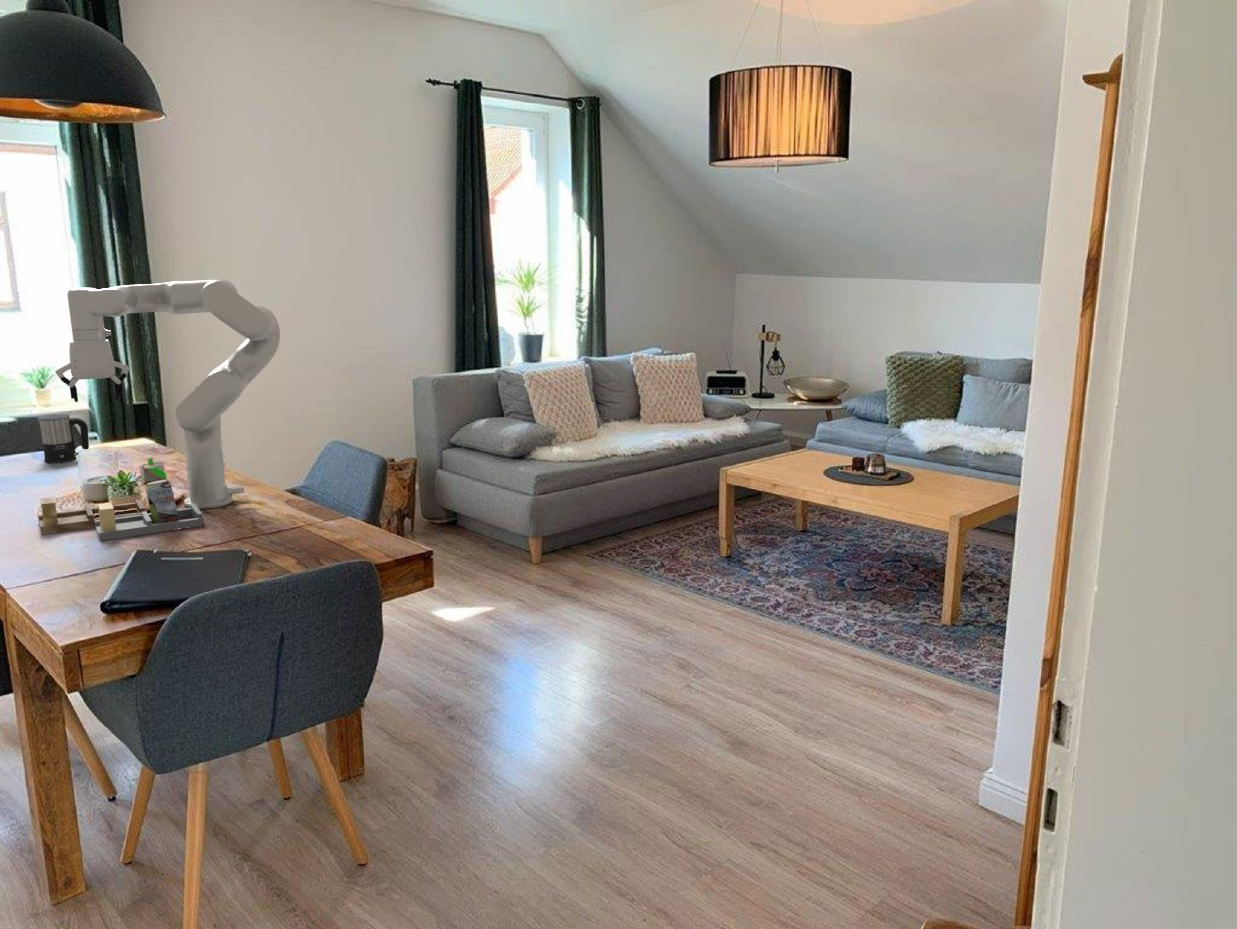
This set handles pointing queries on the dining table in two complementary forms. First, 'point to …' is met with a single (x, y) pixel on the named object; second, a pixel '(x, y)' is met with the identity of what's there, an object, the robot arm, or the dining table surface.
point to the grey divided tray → (140, 522)
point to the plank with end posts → (75, 516)
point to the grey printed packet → (161, 501)
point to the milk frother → (61, 437)
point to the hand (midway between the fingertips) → (96, 399)
